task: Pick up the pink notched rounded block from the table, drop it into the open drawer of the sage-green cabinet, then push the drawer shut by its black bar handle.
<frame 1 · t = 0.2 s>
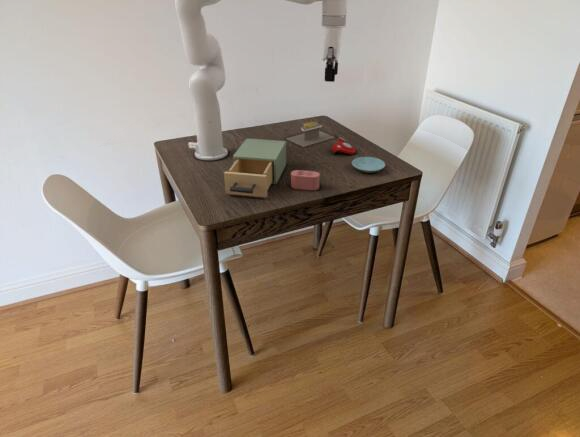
hand: (331, 77, 141), 31 cm above the table, tool pointing down, fingers open, 9 cm apart
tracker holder: (343, 150, 169), on the table
pink notched rounded block: (304, 186, 142), on the table
saucer: (367, 169, 154), on the table
cabinet: (261, 172, 151), on the table
drawer: (250, 177, 137), point 5 cm above the table, slide at 10.0 cm
platform: (310, 138, 180), on the table
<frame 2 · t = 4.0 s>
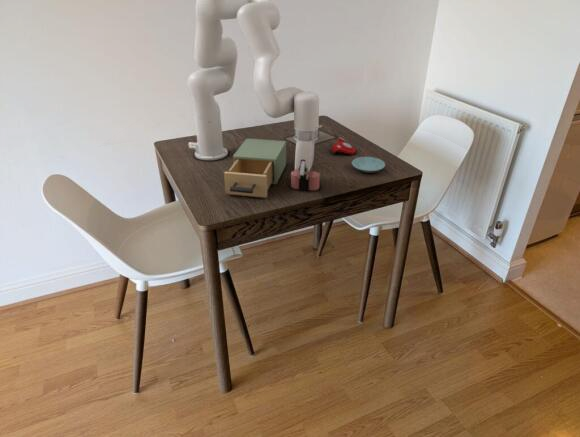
hand: (305, 185, 141), 0 cm above the table, tool pointing down, fingers closed on pink notched rounded block, 4 cm apart
pink notched rounded block: (304, 186, 142), on the table, touching gripper
everything else where it was.
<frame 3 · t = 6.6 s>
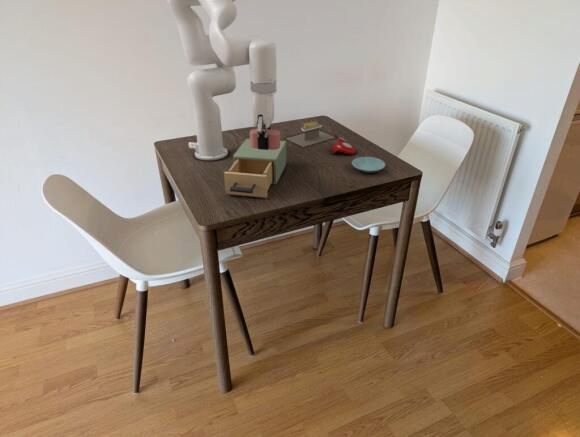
hand: (265, 145, 133), 15 cm above the table, tool pointing down, fingers closed on pink notched rounded block, 4 cm apart
pink notched rounded block: (265, 146, 133), point 15 cm above the table, touching gripper
everything else where it was.
when the fingers open (6 cm above the table, at t = 9.5 s): pink notched rounded block drops 4 cm, resting on drawer.
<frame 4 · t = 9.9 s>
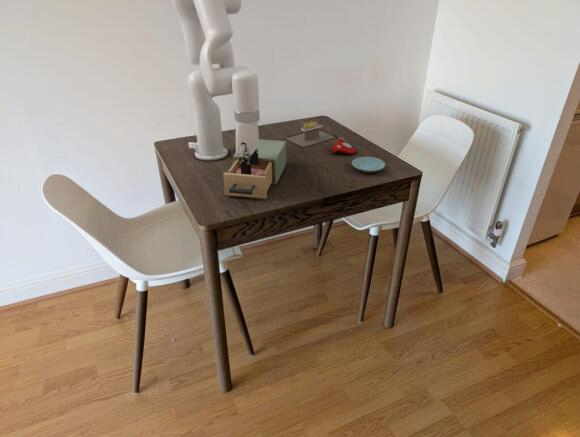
hand: (250, 169, 136), 7 cm above the table, tool pointing down, fingers open, 7 cm apart
pink notched rounded block: (250, 184, 138), point 2 cm above the table, touching drawer
drawer: (249, 178, 136), point 5 cm above the table, slide at 10.8 cm, touching pink notched rounded block
everything else where it was.
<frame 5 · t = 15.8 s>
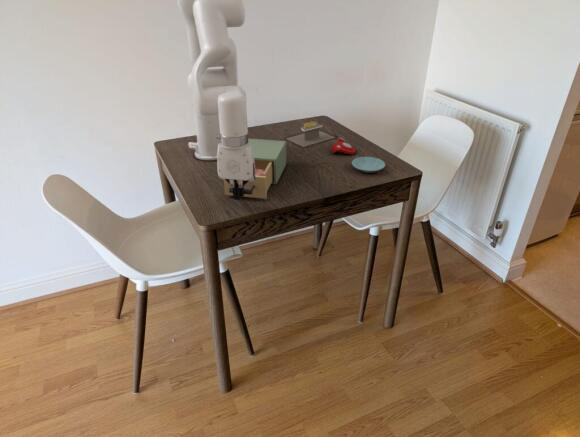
hand: (238, 197, 127), 4 cm above the table, tool pointing down, fingers closed
drawer: (249, 178, 136), point 5 cm above the table, slide at 10.8 cm, touching gripper, pink notched rounded block
everything else where it was.
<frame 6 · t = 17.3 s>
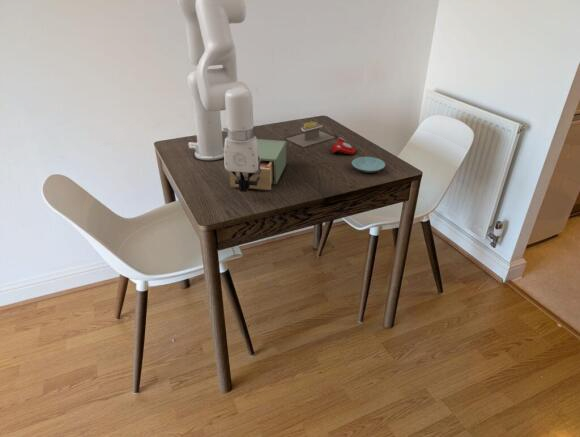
hand: (244, 189, 132), 4 cm above the table, tool pointing down, fingers closed
pink notched rounded block: (255, 177, 143), point 2 cm above the table, touching drawer
drawer: (254, 171, 141), point 5 cm above the table, slide at 4.8 cm, touching gripper, pink notched rounded block
everything else where it was.
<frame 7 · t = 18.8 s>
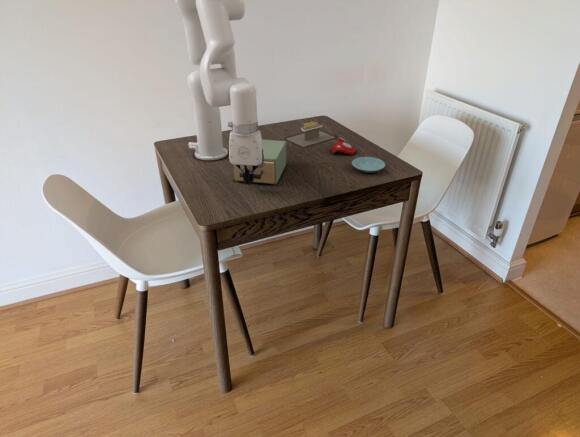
hand: (248, 182, 136), 4 cm above the table, tool pointing down, fingers closed
pink notched rounded block: (258, 171, 147), point 2 cm above the table, touching drawer
drawer: (257, 165, 145), point 5 cm above the table, slide at 0.0 cm, touching cabinet, gripper, pink notched rounded block
everything else where it was.
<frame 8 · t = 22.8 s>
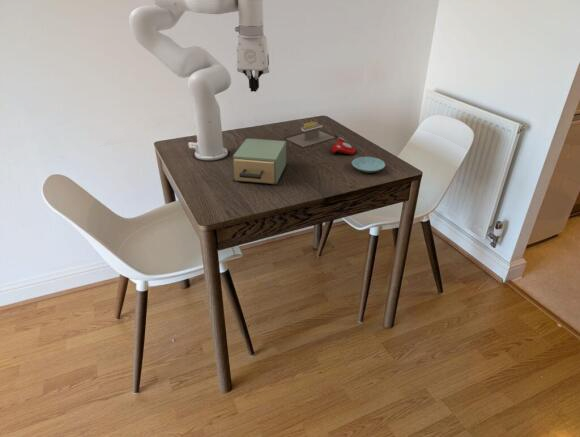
hand: (254, 90, 142), 27 cm above the table, tool pointing down, fingers closed
drawer: (257, 165, 145), point 5 cm above the table, slide at 0.0 cm, touching pink notched rounded block
everything else where it was.
at the end: pink notched rounded block inside the target area in the cabinet (3.2 cm from its centre), point 2.0 cm above the cabinet's base; drawer slide at 0.0 cm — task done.
